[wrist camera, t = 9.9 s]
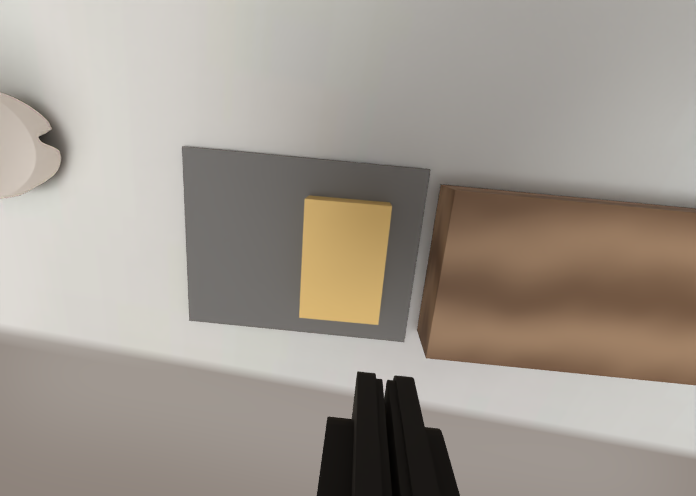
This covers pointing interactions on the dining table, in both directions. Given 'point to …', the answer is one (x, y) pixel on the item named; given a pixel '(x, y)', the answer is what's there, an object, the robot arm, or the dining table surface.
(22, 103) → the water bottle
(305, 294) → the yellow rectangular block
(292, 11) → the dining table surface
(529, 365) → the brown wooden block
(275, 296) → the mat
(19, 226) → the dining table surface
